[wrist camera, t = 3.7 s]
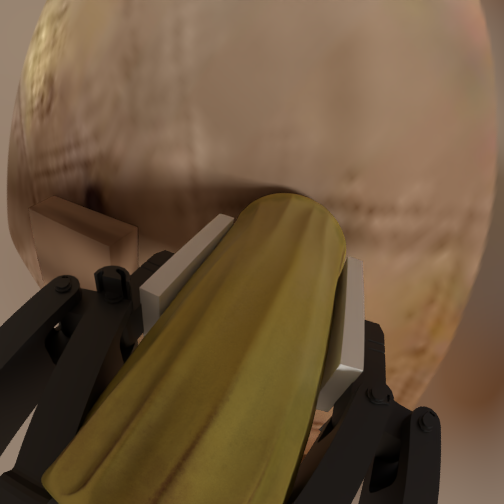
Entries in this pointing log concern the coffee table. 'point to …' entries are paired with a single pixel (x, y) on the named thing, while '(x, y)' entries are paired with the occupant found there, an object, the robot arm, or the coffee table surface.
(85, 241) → the plinth
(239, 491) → the vase
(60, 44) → the coffee table surface
